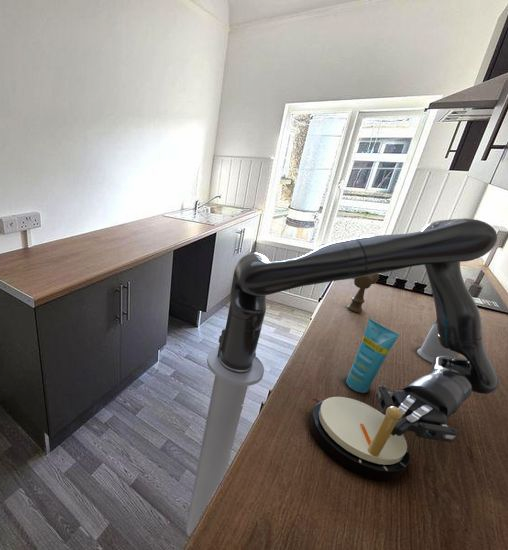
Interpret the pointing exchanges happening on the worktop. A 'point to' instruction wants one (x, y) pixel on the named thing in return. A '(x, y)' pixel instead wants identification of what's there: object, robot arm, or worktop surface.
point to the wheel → (363, 429)
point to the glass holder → (434, 346)
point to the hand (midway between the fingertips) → (390, 429)
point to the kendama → (361, 291)
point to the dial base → (352, 461)
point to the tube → (370, 355)
